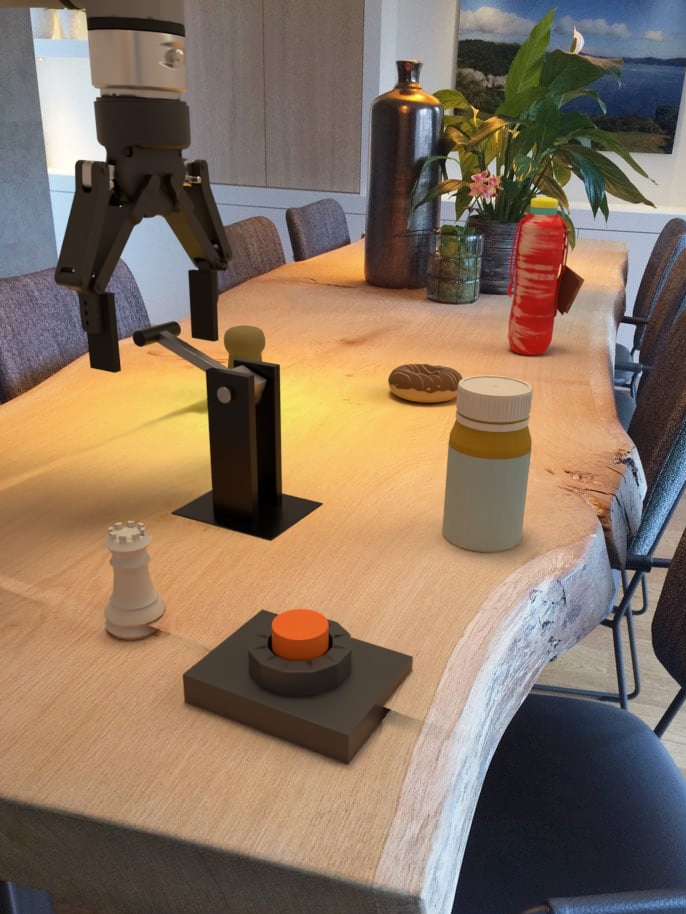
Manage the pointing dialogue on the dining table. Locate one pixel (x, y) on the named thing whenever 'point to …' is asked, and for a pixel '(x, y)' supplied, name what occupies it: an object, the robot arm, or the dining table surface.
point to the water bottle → (540, 278)
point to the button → (300, 635)
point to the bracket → (246, 456)
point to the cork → (244, 343)
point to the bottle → (488, 464)
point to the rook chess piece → (131, 584)
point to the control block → (299, 687)
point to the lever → (189, 351)
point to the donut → (424, 382)
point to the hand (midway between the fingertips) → (159, 353)
